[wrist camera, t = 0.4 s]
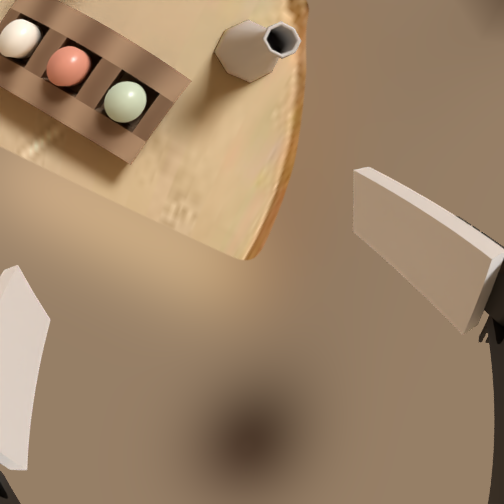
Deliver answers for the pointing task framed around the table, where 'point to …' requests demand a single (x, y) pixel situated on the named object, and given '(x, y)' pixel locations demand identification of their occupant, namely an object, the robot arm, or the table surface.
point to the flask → (255, 48)
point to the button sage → (125, 101)
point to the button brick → (69, 66)
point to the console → (90, 76)
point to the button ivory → (20, 39)
